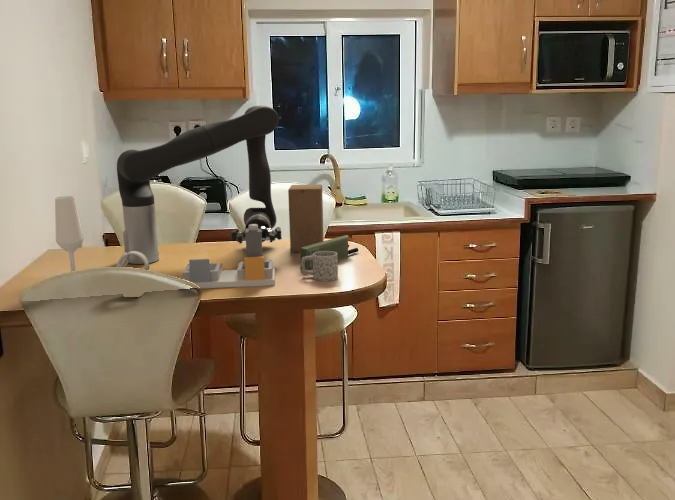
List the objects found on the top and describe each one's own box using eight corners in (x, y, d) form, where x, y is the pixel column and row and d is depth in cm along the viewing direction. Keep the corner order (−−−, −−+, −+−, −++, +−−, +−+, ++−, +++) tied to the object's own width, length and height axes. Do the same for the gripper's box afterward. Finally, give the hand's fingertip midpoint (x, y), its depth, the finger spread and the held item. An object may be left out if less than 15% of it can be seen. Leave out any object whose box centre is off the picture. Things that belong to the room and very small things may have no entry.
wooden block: (322, 252, 211) (320, 188, 206) (290, 252, 211) (288, 189, 207) (323, 245, 221) (322, 184, 216) (293, 245, 221) (291, 184, 216)
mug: (340, 275, 184) (339, 251, 183) (334, 281, 178) (334, 257, 176) (305, 273, 186) (304, 250, 185) (298, 280, 180) (297, 255, 179)
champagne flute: (76, 292, 172) (66, 199, 167) (55, 290, 175) (44, 198, 169) (94, 285, 178) (84, 195, 173) (74, 283, 181) (64, 195, 175)
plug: (247, 276, 178) (245, 226, 175) (248, 272, 182) (245, 223, 179) (262, 276, 179) (260, 226, 176) (263, 272, 183) (261, 223, 179)
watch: (123, 291, 173) (119, 249, 170) (154, 291, 172) (150, 249, 170) (115, 297, 168) (110, 254, 165) (146, 297, 167) (142, 254, 164)
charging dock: (181, 289, 174) (178, 260, 172) (187, 276, 185) (185, 250, 184) (274, 285, 175) (273, 257, 174) (275, 273, 187) (274, 246, 185)
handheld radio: (298, 269, 191) (352, 252, 210) (307, 272, 189) (361, 254, 208) (298, 247, 190) (352, 231, 208) (307, 249, 188) (361, 233, 206)
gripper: (233, 216, 203) (229, 227, 187) (281, 215, 204) (280, 225, 188) (235, 241, 204) (230, 253, 189) (282, 239, 205) (281, 251, 190)
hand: (255, 239), depth 188 cm, fingers open, 8 cm apart
